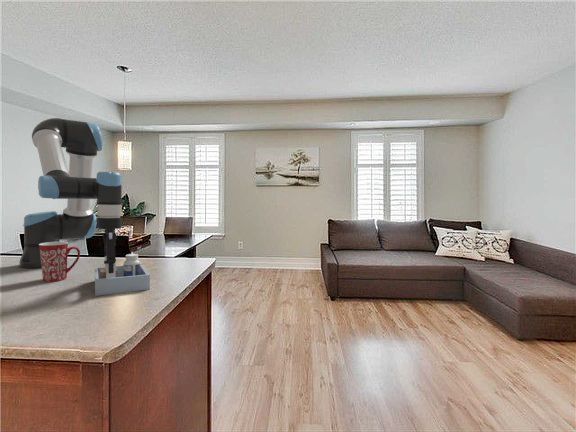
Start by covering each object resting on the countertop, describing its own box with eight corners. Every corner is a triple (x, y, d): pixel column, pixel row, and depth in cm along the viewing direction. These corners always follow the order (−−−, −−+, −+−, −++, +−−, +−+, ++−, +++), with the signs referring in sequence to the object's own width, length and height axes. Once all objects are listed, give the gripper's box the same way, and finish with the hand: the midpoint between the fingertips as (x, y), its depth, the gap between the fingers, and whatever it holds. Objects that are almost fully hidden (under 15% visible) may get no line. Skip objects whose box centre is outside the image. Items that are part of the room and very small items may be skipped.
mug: (37, 283, 117) (36, 245, 117) (41, 277, 125) (40, 242, 124) (79, 279, 124) (79, 243, 123) (80, 274, 131) (80, 240, 131)
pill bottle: (137, 279, 123) (136, 253, 123) (142, 282, 119) (142, 255, 119) (121, 281, 120) (121, 254, 119) (126, 284, 116) (126, 256, 115)
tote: (94, 281, 122) (94, 267, 122) (141, 276, 130) (141, 264, 130) (95, 295, 105) (95, 279, 105) (149, 289, 113) (149, 274, 113)
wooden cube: (116, 281, 119) (116, 267, 119) (117, 285, 115) (117, 270, 115) (100, 283, 117) (100, 269, 116) (101, 286, 112) (100, 272, 112)
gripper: (96, 214, 123) (96, 271, 125) (97, 219, 102) (98, 288, 103) (119, 214, 127) (119, 269, 128) (124, 219, 106) (125, 285, 107)
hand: (109, 278), depth 116 cm, fingers open, 13 cm apart
